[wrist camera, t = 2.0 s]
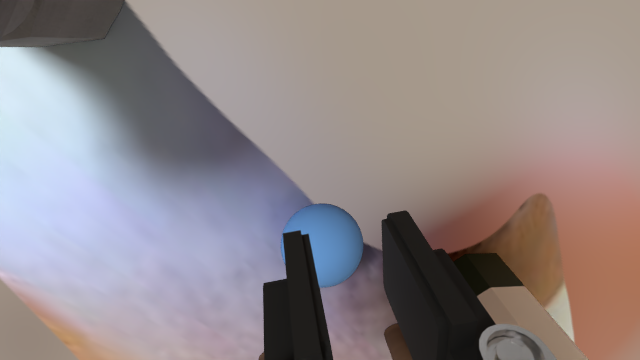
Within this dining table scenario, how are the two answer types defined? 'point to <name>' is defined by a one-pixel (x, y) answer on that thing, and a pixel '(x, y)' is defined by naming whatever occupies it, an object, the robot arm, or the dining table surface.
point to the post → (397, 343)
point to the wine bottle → (514, 302)
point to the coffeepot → (55, 21)
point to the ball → (329, 241)
